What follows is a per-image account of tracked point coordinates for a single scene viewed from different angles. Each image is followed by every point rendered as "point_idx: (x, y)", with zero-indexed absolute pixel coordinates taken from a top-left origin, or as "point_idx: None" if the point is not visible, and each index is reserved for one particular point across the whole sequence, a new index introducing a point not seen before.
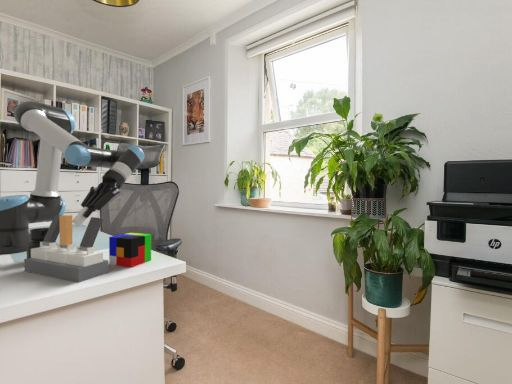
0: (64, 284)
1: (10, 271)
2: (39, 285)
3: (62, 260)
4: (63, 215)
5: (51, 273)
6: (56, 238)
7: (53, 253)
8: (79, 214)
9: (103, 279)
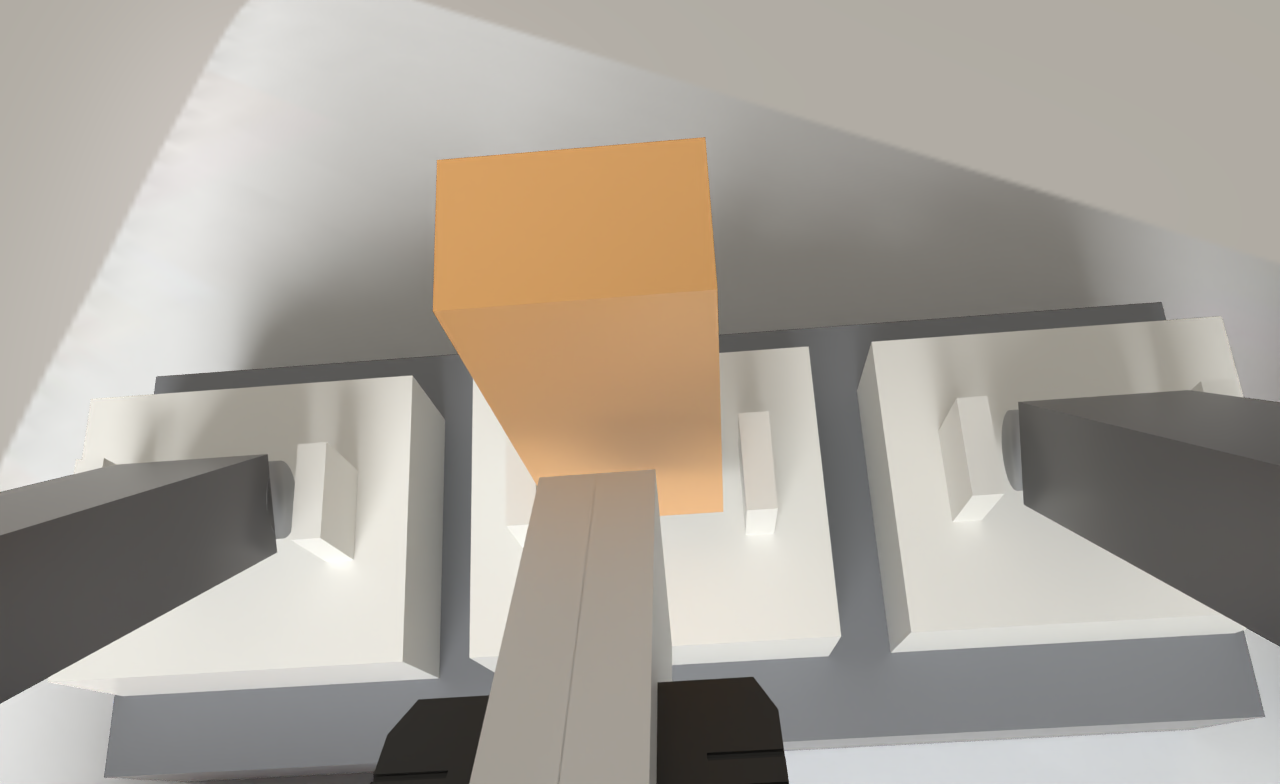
0: (297, 336)
1: (1229, 293)
2: None
3: None
4: (623, 192)
5: None
6: (1052, 514)
7: None
8: (564, 620)
9: None
